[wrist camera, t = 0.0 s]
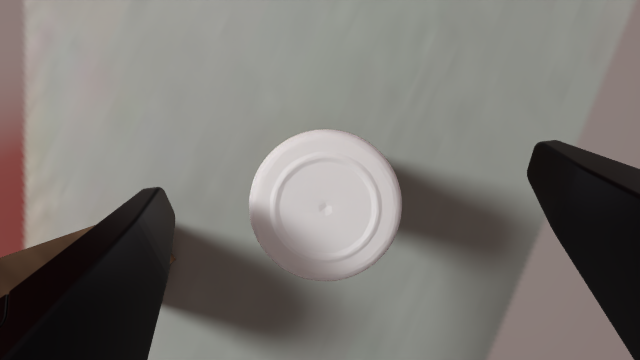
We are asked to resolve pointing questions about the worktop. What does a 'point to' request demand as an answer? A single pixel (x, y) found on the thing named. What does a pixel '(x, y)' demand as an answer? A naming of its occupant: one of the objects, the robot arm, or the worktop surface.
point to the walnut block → (34, 260)
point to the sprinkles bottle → (325, 205)
